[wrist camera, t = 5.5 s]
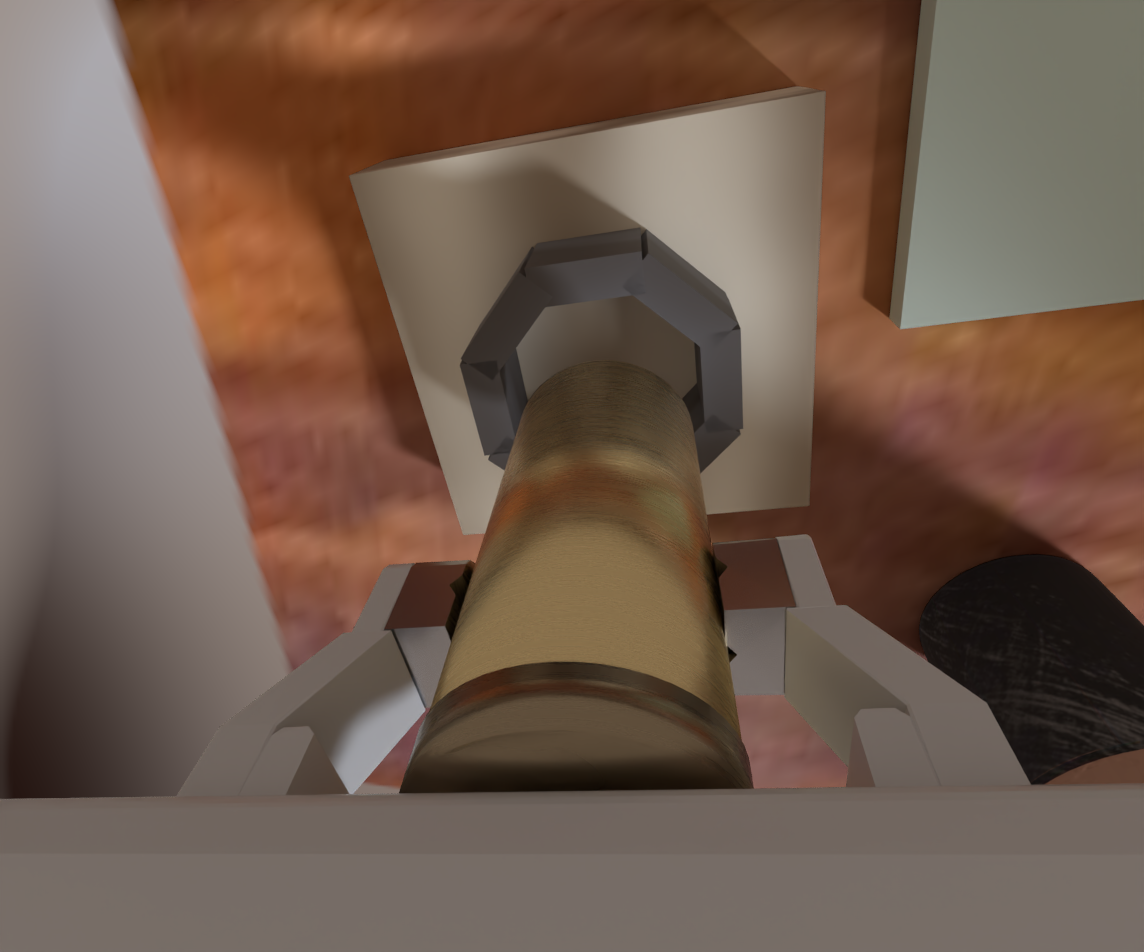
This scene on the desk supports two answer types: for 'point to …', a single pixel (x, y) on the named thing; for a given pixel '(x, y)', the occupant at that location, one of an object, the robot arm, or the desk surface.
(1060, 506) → the desk surface
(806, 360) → the beige base with ring
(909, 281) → the sage pad
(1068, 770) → the travel mug
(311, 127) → the desk surface
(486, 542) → the brass peg
